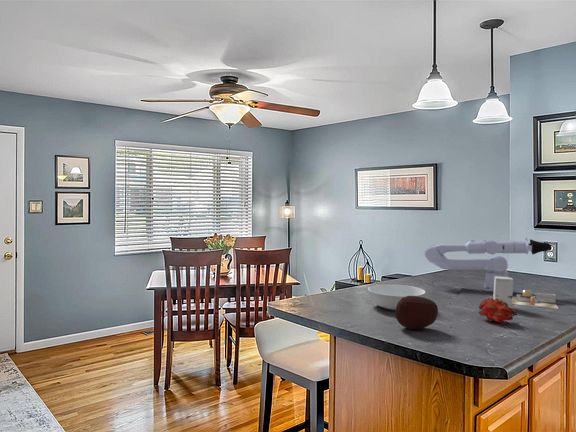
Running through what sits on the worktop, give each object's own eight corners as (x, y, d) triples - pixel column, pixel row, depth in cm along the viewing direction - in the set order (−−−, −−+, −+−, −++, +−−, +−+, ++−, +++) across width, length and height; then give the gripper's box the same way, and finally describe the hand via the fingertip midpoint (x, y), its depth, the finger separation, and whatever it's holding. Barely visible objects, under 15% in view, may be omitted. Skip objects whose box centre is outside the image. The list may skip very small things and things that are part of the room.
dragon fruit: (475, 321, 154) (513, 334, 146) (472, 311, 148) (510, 323, 140) (484, 300, 157) (521, 311, 149) (480, 289, 151) (518, 300, 143)
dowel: (530, 305, 170) (530, 297, 170) (530, 304, 171) (530, 296, 171) (534, 305, 170) (535, 297, 169) (534, 304, 171) (534, 297, 171)
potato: (443, 334, 133) (444, 299, 133) (400, 334, 132) (401, 299, 132) (429, 323, 144) (430, 292, 144) (389, 323, 143) (390, 292, 143)
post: (522, 300, 178) (522, 290, 178) (522, 299, 180) (522, 289, 180) (530, 301, 177) (531, 291, 176) (530, 299, 179) (530, 290, 179)
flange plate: (517, 300, 177) (517, 292, 177) (516, 297, 183) (516, 289, 183) (556, 304, 171) (556, 296, 171) (554, 300, 177) (554, 292, 177)
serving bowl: (356, 303, 171) (357, 285, 171) (401, 299, 179) (401, 282, 179) (389, 317, 152) (390, 297, 152) (437, 312, 160) (438, 293, 160)
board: (507, 305, 172) (507, 303, 172) (506, 297, 187) (506, 295, 187) (558, 310, 165) (558, 308, 165) (553, 302, 180) (553, 300, 180)
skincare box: (494, 310, 164) (495, 277, 163) (492, 307, 168) (493, 276, 168) (512, 312, 162) (513, 279, 162) (510, 309, 166) (511, 277, 166)
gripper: (514, 238, 188) (551, 238, 182) (513, 236, 201) (547, 236, 195) (515, 255, 188) (552, 255, 182) (513, 252, 201) (548, 252, 195)
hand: (550, 246), depth 188 cm, fingers open, 7 cm apart
